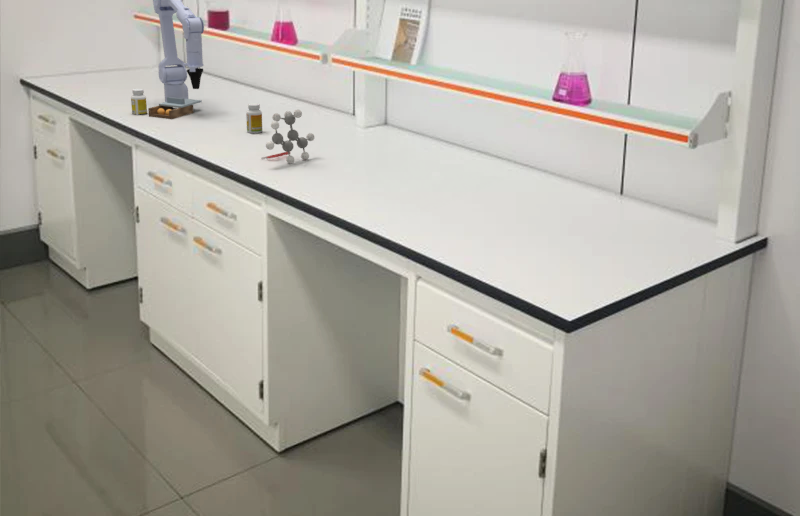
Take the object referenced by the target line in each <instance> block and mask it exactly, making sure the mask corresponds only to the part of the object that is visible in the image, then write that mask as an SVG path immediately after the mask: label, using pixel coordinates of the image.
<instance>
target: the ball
mask: <svg viewBox="0 0 800 516" xmlns="http://www.w3.org/2000/svg"><path fill="white" fill-rule="evenodd" d="M157 113H158V114H161V115H164V114H165V110H164V109H162V108H159V109H158V110H157Z"/></svg>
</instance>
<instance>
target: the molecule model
mask: <svg viewBox="0 0 800 516" xmlns="http://www.w3.org/2000/svg"><path fill="white" fill-rule="evenodd" d="M283 115H284V117H281V115H280V114H279V113H277V112H276V113H273V115H272V117H271V118H272V122H271V124H270V127H271V128H272V130H274V131H275V133H274V134H273V135H272V136H271V141H270V140H268V141H267V142H266V143H265V147H266V149H267V150H269V151H271V150H273V149H274V148H275V145H281V148H282V150H283V151H284V152H280V153H275V154H271V155H266V156H262V157H260V159H262V160H263V159H272V158H273V159H274V158H279V157H283V156H286V159H285V161H286V163H287V164H289V165H291V164H294V162H295V157H294V156H293V155H291V152H292V151H293V149H294V143H293V142H295V141H296V146H297V147H298V148H300V149H302V151H303V152H302V153H301V154H300V157H301V160H304V161H307V160H308V159H309V158H310V154H309V152H307V151H306V150H305V149H306V148H307V146H308V145H309V142H313V141H314V140H315V135H314V133H311V132H309V133H307V134H306V137H302V136H301V137H299V132H298V130H296V129H294V128H293V125H294V124H295V123H296V118H297V119H300V118H301V117H302V116H303V113H302V111H301V110H300V109H295V110H294V111H293V113H292V112H291V111H289V110H287V111H285V112H284V114H283ZM280 120H282V121H283V120H284V123H285V124H286V125H289V128H290V130H288V132H287V138H288V140H284V136H283V134H281V133H280V132H278V129H279V128H280V122H279V121H280Z"/></svg>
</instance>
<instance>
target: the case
mask: <svg viewBox="0 0 800 516" xmlns="http://www.w3.org/2000/svg"><path fill="white" fill-rule="evenodd" d="M159 108H162V109H164V110H165V112H166V110H168V109H171V110H170V111H169V115H166V113H165V114H164V115H161V114H158V113H157V110H158V109H159ZM147 112H148V117H150V118H159V119H166V120H167V119H168V120H174V119H177V118H181V117H184V116H188V115H190V114H194V104H193V105H189V106H186V107H182V108H178V107H169V106H160V105H159V104H158V105H156V106H152V107H151V106H150V107H147Z"/></svg>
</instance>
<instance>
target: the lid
mask: <svg viewBox="0 0 800 516" xmlns="http://www.w3.org/2000/svg"><path fill="white" fill-rule="evenodd" d="M199 103H202V100H201V99H190V98H188V99H184V98H174V97H167V102H165V101H164V102H160V103H158V106H159V105H160V106H169V107H173V108H182V107H186V106H189V105H193V106H194V105H196V104H199Z"/></svg>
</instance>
